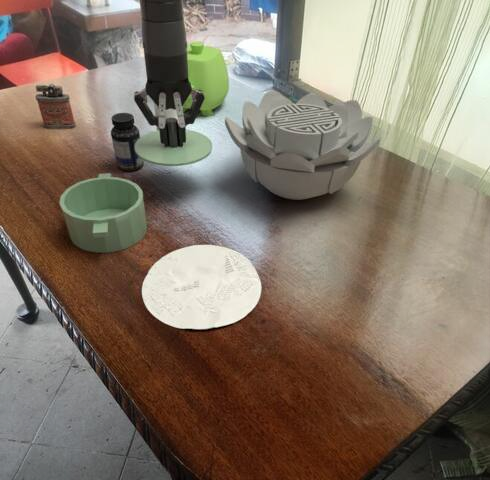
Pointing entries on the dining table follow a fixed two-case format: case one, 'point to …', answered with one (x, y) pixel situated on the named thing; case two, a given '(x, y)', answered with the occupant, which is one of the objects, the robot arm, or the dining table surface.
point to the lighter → (55, 107)
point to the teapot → (207, 76)
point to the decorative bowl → (302, 143)
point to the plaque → (201, 287)
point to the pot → (104, 213)
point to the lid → (173, 147)
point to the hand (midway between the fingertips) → (173, 144)
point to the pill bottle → (125, 142)
